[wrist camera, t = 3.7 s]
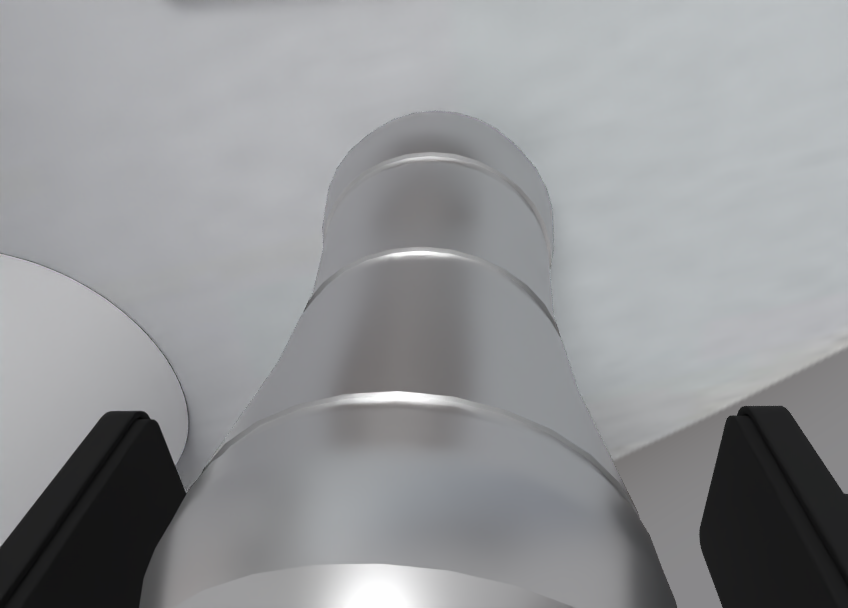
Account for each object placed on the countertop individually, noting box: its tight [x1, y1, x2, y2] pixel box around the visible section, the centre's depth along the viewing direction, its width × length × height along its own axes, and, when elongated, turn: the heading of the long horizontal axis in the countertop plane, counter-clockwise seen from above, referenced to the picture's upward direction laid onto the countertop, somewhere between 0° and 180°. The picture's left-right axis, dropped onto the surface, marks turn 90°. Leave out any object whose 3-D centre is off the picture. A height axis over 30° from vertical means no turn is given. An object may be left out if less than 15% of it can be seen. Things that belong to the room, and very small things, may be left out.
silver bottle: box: [139, 111, 677, 608], centre depth 11 cm, size 6×7×20 cm
